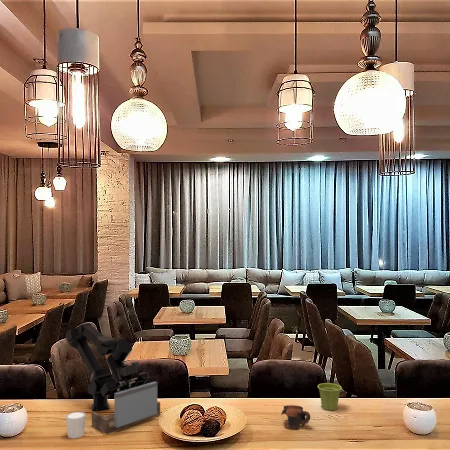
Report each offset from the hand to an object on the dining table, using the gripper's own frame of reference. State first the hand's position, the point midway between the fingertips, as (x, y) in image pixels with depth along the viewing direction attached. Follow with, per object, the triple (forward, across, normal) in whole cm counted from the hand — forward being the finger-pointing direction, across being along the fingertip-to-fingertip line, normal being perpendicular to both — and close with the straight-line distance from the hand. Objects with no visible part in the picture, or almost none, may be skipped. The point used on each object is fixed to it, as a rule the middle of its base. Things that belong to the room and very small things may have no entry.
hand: (134, 403), depth 184 cm
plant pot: (+36, +64, -25) cm, 78 cm away
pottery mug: (+36, +41, -25) cm, 60 cm away
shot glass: (0, -20, +11) cm, 23 cm away
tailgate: (+4, 0, +4) cm, 6 cm away
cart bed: (+2, 0, +9) cm, 9 cm away
